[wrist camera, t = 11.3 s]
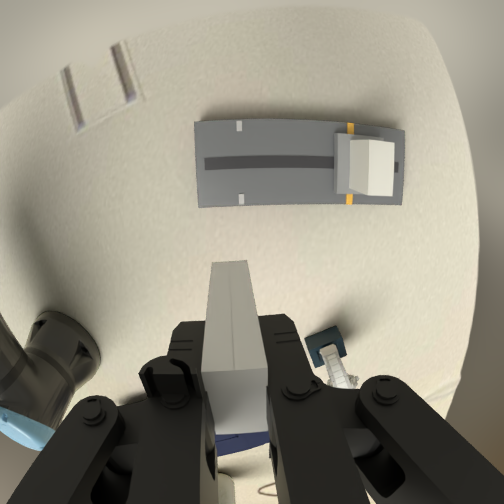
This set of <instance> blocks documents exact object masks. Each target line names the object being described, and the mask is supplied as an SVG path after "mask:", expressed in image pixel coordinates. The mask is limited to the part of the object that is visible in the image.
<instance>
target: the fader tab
mask: <svg viewBox="0 0 504 504" xmlns="http://www.w3.org/2000/svg"><path fill="white" fill-rule="evenodd" d="M393 179H394V143H393V142H385V141H384V138H380V137H372V136H363V135H353V134H342V133H335V134H334V193H336V194H365V195H370V196H392V195H393Z"/></svg>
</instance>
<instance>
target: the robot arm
mask: <svg viewBox="0 0 504 504" xmlns="http://www.w3.org/2000/svg"><path fill="white" fill-rule="evenodd" d="M168 350H169V351H168V353H167V356H160V357H157V358H155V359H152V360H150V361H149V362H148V363H146V364H145V365H144V366H143V367H142V368H141V370H140V372H139V373H138V374H139V376H140V379H141V381H142V384H143V386H144V389H145V391H146V393H147V396H148V398H147V399H145V400H143V401H141V402H137V403H133V404H128V405H122V406H116V405H115V403H114V402H113V400H111V399H109V398H107V397H105V396H99V395H95V396H89V397H86V398H84V399H82V400H80V401H79V402H78V403H77V404H76V405H75V406H74V407H73V408H72V410H71V411H70V412H69V414H68V415H67V416H66V418H65V419H64V420H63V422H62V423H61V421H62V418H63V416H64V414H65V412H66V410H67V408H68V406H69V404H70V402H71V399H72V397H73V395H74V393H75V392H76V391H77V390H78V389H79V388H80V387H82V386H83V385H84V384H85V383H87V382H88V381H89V380H90V379H92V378H93V376H94V375H95V374H96V372H97V370H98V368H99V365H100V354H99V351H98V348H97V346H96V344H95V342H94V341H93V339H92V338H91V336H90V335H89V334H88V333H87V331H86V330H85V329H84V328H83V327H82V326H81V325H79V324H78V323H77V322H76V321H74V320H73V319H71V318H70V317H68V316H66V315H64V314H61V313H58V312H53V311H48V312H44V313H42V314H41V315H40V316H39V317H38V318H37V319H36V320H35V321H34V323H33V325H32V327H31V330H30V333H29V336H28V339H27V342H26V345H25V348H24V349H23V348H22V347H21V345H20V344H19V342H18V341H17V339H16V338H15V336H14V335H13V333H12V331H11V330H10V328H9V327H8V325H7V323H6V322H5V320H4V318H3V317H2V315H1V313H0V431H1V432H3V433H4V434H5V435H7V436H8V437H10V438H11V439H13V440H14V441H16V442H18V443H20V444H22V445H23V446H26V447H28V448H31V449H34V450H38V451H41V452H40V454H39V455H38V457H37V458H36V460H35V461H34V462H33V464H32V465H31V467H30V468H29V470H28V471H27V473H26V474H25V476H24V477H23V479H22V480H21V482H20V483H19V485H18V486H17V488H16V489H15V491H14V493H13V494H12V496H11V498H10V499H9V500H8V502H7V504H219V498H218V467H217V448H216V445H215V432H216V435H217V434H239V433H252V432H263V431H269V437H270V446H269V458H271V460H272V466H273V472H274V478H275V484H276V490H277V496H278V502H279V504H370V501H369V499H368V496H367V493H366V491H367V492H368V493H369V495H370V496H371V497H372V499H373V500H374V501H375V503H376V504H504V475H502V474H501V473H500V472H499V471H498V470H497V469H496V468H495V467H494V466H493V465H492V464H491V463H490V462H489V461H488V460H487V459H486V458H484V456H482V455H481V454H480V453H479V452H478V451H477V450H476V449H475V448H474V447H473V446H472V445H471V444H470V443H468V441H466V439H465V438H463V437H462V436H461V435H460V434H459V433H458V432H457V431H456V430H455V429H454V428H453V427H452V426H451V425H450V424H449V423H448V422H446V421H445V420H444V419H443V418H442V417H441V416H440V415H439V414H438V413H437V412H436V411H435V410H434V409H433V408H432V407H430V406H429V405H428V404H427V403H426V402H425V401H424V400H423V399H422V398H421V397H420V396H419V395H418V394H417V393H415V392H414V391H413V390H412V389H411V388H410V387H409V386H408V385H407V384H406V383H405V382H403V381H401V380H400V379H398V378H396V377H393V376H389V375H378V376H375V377H371V378H369V379H368V380H366V381H365V382H364V383H363V384H362V386H361V388H360V389H347V388H336V387H332V386H329V385H326V384H324V383H323V381H322V380H321V379H320V378H319V377H317V376H315V375H314V373H313V372H312V369H311V366H310V364H309V361H308V358H307V356H306V353H305V351H304V348H303V345H302V343H301V341H300V337H299V335H298V333H297V329H296V327H295V324H294V322H293V321H292V320H291V319H290V318H289V317H288V316H286V315H285V314H276V315H265V316H258V315H257V310H256V305H255V299H254V294H253V289H252V284H251V279H250V273H249V268H248V263H247V260H243V261H228V262H213V263H212V267H211V275H210V284H209V293H208V302H207V312H206V321H187V322H180V324H179V325H178V326H177V327H176V328H175V329H174V330H173V333H172V337H171V343H170V345H169V349H168ZM60 423H61V424H60ZM59 425H60V426H59ZM365 489H366V490H365Z"/></svg>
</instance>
